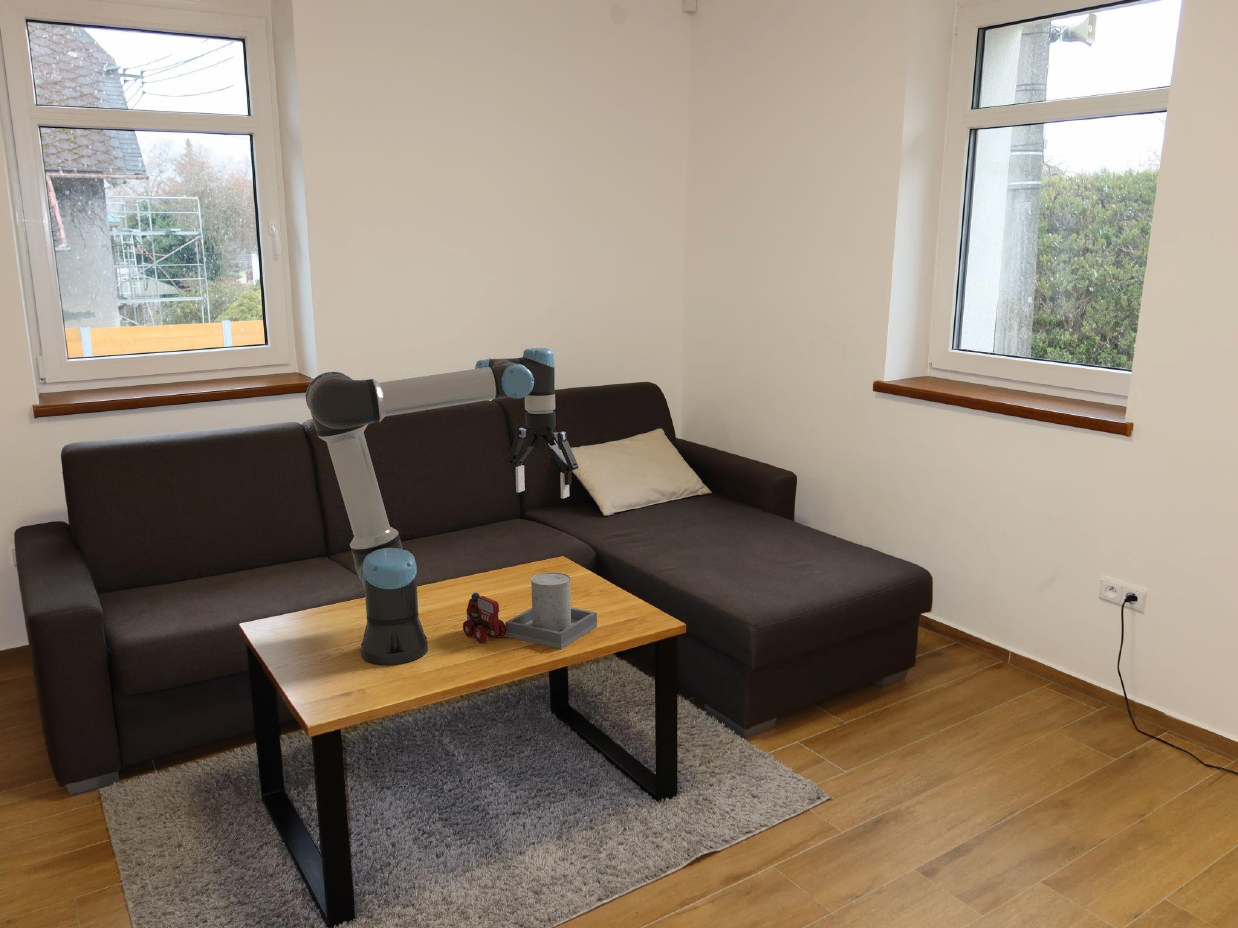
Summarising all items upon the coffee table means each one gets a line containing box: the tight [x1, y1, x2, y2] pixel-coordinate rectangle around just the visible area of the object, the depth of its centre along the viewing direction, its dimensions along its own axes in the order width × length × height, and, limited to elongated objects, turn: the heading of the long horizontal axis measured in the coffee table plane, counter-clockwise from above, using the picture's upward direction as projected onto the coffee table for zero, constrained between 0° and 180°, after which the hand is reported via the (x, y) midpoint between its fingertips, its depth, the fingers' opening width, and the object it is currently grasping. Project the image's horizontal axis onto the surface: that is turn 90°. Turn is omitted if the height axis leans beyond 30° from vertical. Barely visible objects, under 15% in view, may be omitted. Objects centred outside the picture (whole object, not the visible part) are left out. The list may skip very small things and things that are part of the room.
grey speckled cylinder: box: [530, 571, 572, 632], centre depth 235 cm, size 10×10×12 cm
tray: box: [504, 607, 598, 650], centre depth 236 cm, size 16×16×4 cm
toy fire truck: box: [462, 592, 506, 644], centre depth 233 cm, size 7×12×10 cm, turn 40°
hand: (542, 494), depth 245 cm, fingers open, 13 cm apart
